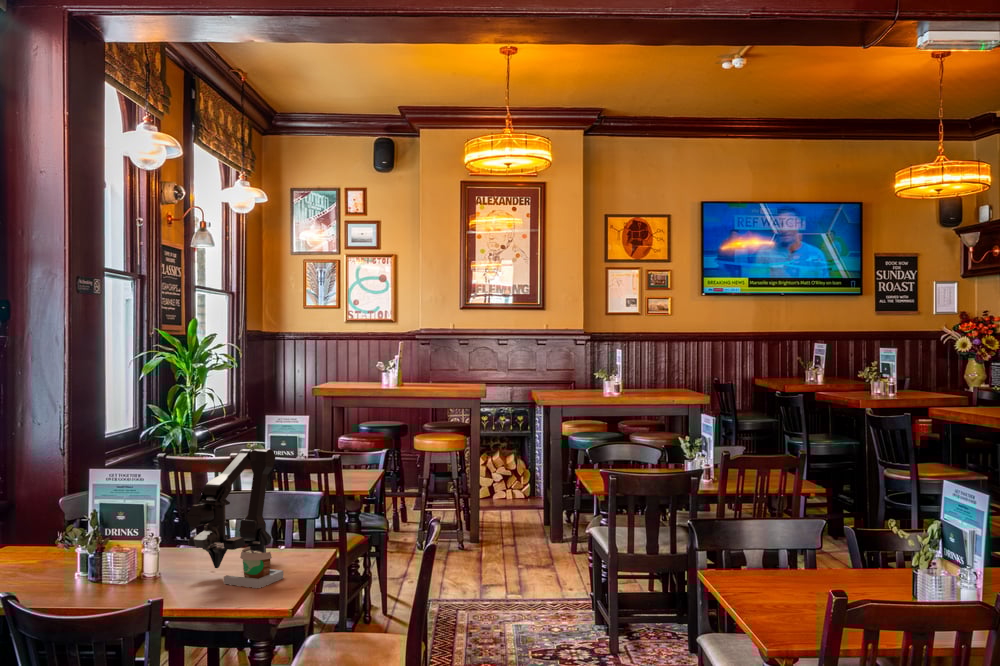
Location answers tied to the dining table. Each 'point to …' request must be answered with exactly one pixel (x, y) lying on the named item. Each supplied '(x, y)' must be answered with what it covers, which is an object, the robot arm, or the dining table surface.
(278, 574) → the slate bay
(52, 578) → the dining table surface
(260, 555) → the food container
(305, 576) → the dining table surface
